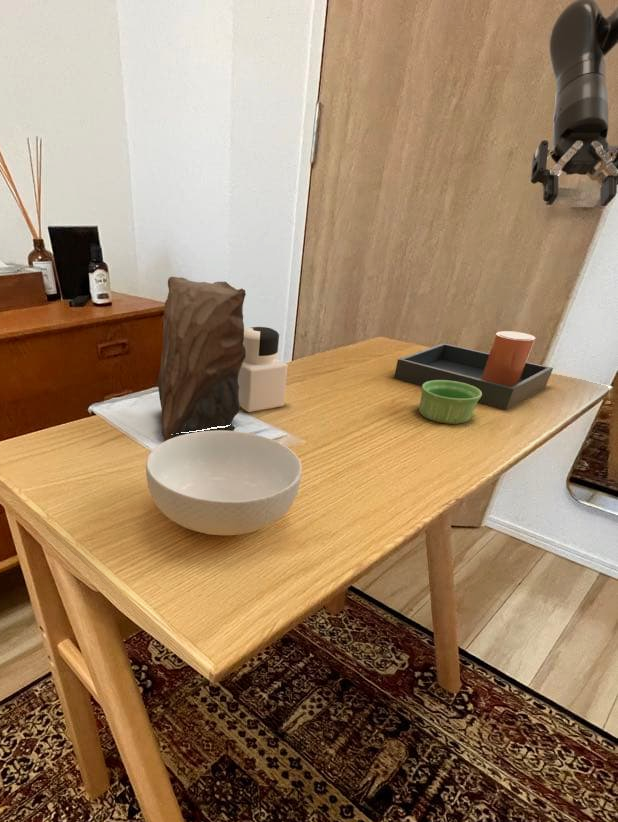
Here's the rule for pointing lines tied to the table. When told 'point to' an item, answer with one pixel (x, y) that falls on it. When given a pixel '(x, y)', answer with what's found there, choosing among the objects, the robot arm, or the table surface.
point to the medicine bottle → (261, 371)
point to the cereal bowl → (223, 481)
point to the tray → (470, 373)
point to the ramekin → (448, 401)
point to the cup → (508, 357)
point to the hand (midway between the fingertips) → (579, 201)
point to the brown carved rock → (200, 356)
